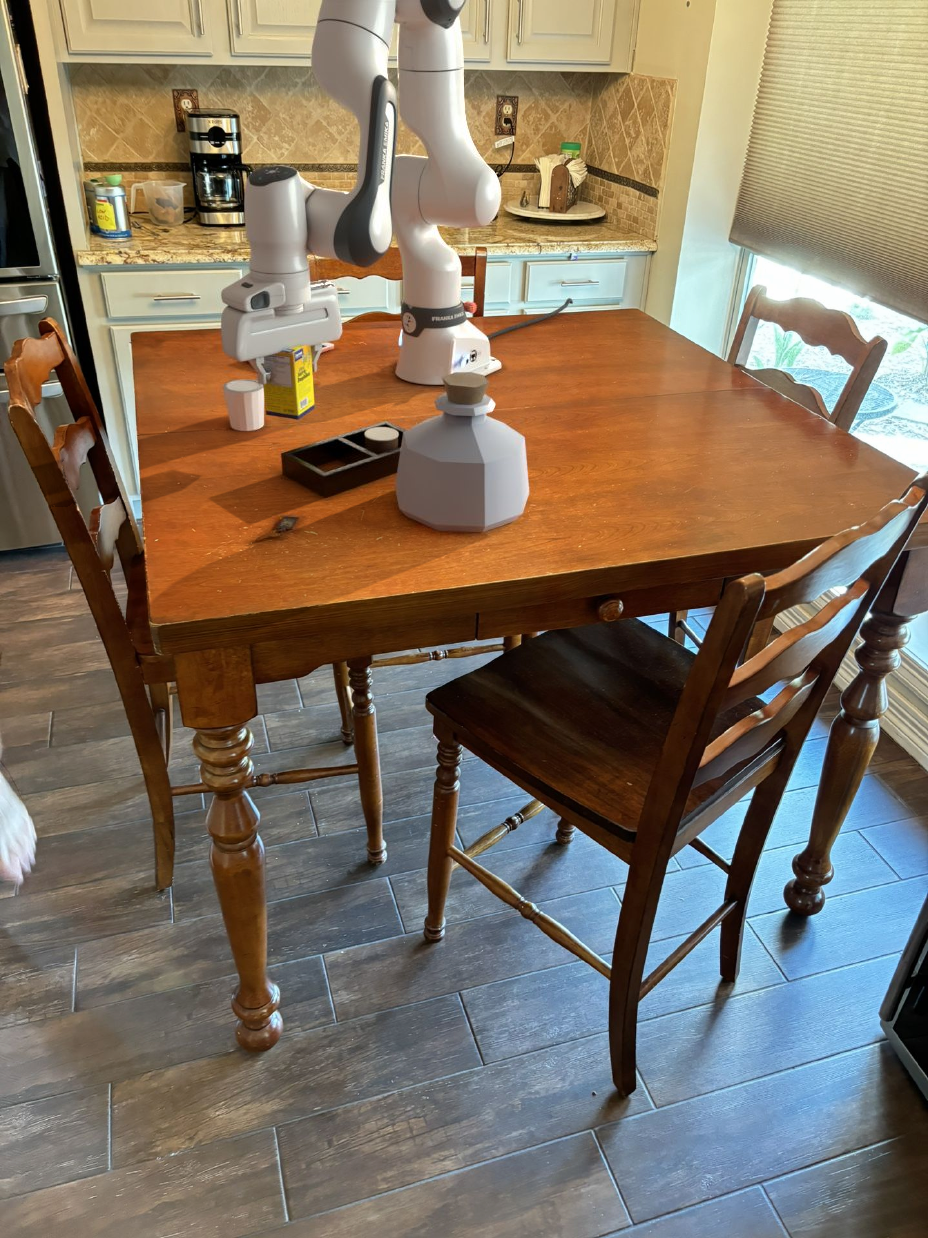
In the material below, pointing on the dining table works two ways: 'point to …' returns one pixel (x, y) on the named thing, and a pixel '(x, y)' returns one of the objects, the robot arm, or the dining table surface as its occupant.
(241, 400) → the shot glass
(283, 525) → the key tag
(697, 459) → the dining table surface
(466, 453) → the bottle
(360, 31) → the robot arm
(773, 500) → the dining table surface
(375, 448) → the cylinder
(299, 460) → the tray
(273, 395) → the supplement box
